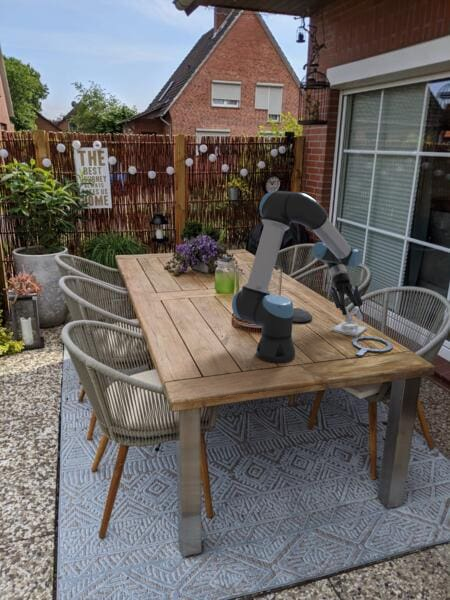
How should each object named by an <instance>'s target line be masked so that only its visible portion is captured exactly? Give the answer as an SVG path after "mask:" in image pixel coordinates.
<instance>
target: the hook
mask: <svg viewBox="0 0 450 600" xmlns="http://www.w3.org/2000/svg"><path fill="white" fill-rule="evenodd" d="M358 310H359V308H358V307H357V306H356V307H355V306H354V308H352V310H350V312H349V315H350V318H351V321H350V322H349V323H347V321H346V320H345V321H342V322H343V323H342V322H341V323H342V325H341V328H342V329H344V330H356V329H358V326H359V325H358V323H357V322H356V321H353V319H352V318H353V317H354V316H355V315H356V312H357V311H358ZM345 324H353V325H355V326H345Z"/></svg>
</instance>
